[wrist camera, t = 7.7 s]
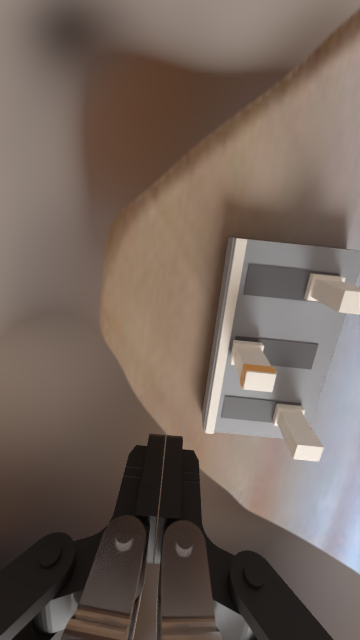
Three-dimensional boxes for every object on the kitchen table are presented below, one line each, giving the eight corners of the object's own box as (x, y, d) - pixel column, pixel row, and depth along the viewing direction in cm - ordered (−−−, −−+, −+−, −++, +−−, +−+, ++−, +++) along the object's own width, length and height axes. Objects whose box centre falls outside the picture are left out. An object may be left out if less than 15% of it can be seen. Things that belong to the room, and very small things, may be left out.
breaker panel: (228, 236, 22) (246, 240, 15) (346, 249, 22) (416, 258, 15) (201, 413, 28) (206, 472, 21) (295, 423, 28) (329, 485, 21)
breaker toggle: (233, 339, 22) (244, 367, 18) (262, 342, 22) (280, 370, 18) (229, 361, 23) (239, 392, 18) (257, 364, 23) (274, 396, 18)
